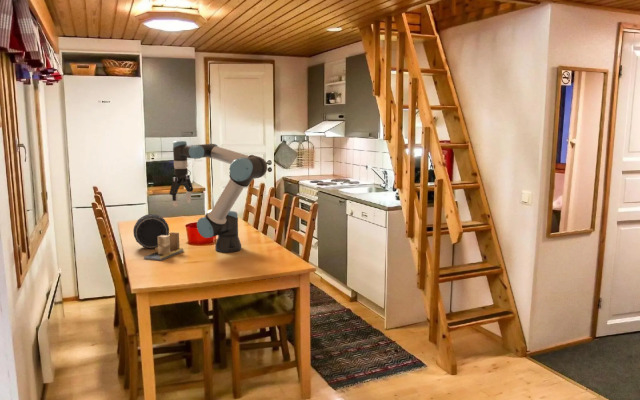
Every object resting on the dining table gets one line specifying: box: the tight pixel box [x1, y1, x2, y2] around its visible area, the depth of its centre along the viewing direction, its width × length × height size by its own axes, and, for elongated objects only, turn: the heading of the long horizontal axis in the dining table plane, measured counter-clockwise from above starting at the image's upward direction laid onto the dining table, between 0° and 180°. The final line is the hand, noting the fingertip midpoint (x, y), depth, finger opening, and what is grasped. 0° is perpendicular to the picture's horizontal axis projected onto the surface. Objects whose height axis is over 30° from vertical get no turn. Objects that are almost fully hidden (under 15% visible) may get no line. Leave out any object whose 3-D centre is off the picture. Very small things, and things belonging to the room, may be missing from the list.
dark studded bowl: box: [133, 213, 170, 249], centre depth 300 cm, size 11×20×20 cm, turn 110°
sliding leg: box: [154, 235, 170, 255], centre depth 282 cm, size 8×4×10 cm, turn 72°
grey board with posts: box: [143, 231, 184, 262], centre depth 284 cm, size 11×21×11 cm, turn 162°
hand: (182, 204), depth 294 cm, fingers open, 13 cm apart
